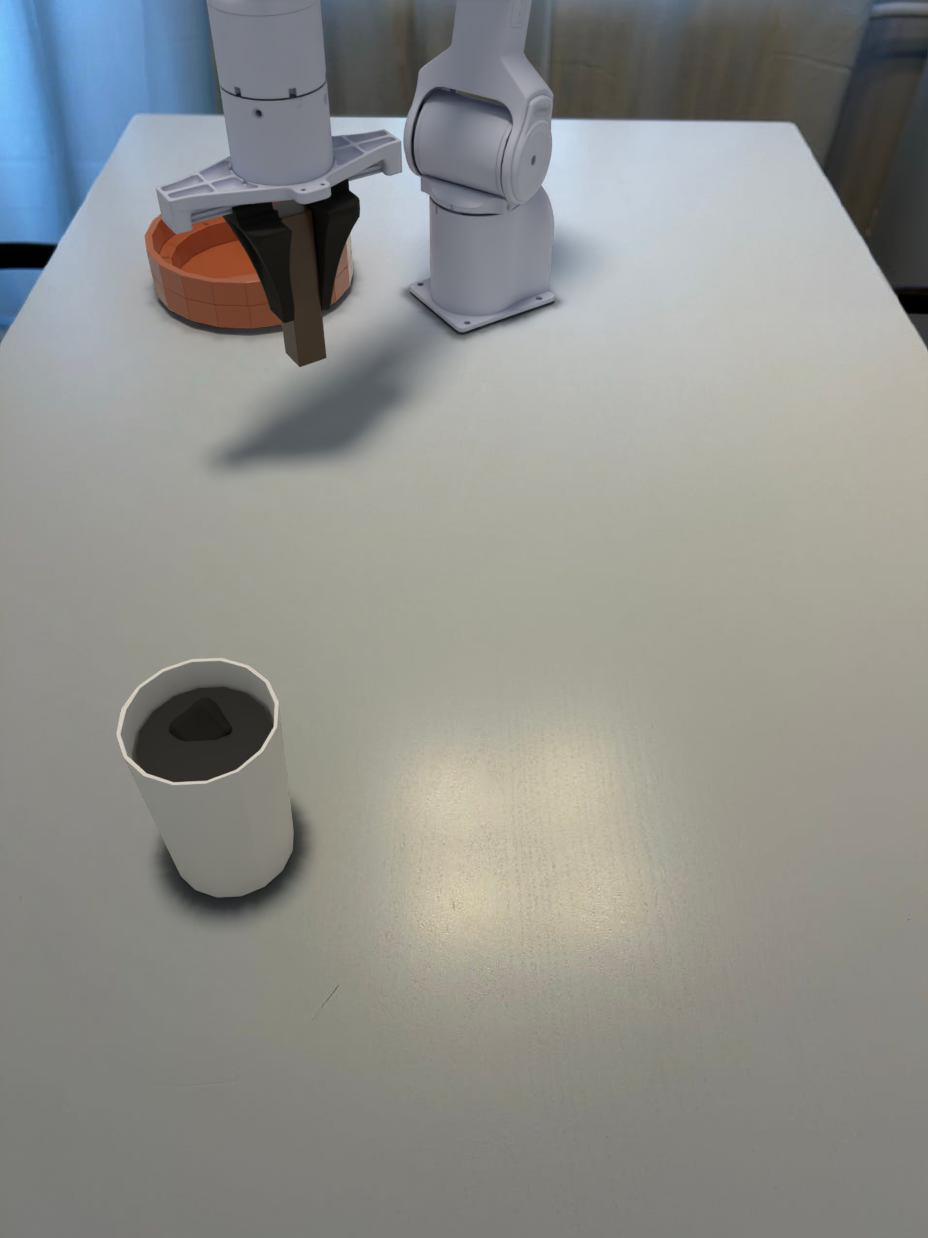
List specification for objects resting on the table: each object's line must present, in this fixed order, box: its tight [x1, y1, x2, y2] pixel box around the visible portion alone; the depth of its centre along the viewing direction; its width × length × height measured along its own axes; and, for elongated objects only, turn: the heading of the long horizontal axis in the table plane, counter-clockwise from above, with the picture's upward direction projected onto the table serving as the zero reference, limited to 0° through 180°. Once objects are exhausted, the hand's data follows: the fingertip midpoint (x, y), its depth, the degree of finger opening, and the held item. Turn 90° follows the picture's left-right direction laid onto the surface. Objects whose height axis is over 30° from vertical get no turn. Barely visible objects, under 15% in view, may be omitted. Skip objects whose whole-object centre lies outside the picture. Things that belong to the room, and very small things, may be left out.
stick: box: [272, 200, 328, 368], centre depth 64 cm, size 2×2×10 cm
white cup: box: [115, 657, 295, 899], centre depth 46 cm, size 7×7×10 cm
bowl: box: [144, 201, 354, 329], centre depth 85 cm, size 16×16×4 cm
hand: (300, 308), depth 65 cm, fingers closed on stick, 2 cm apart
